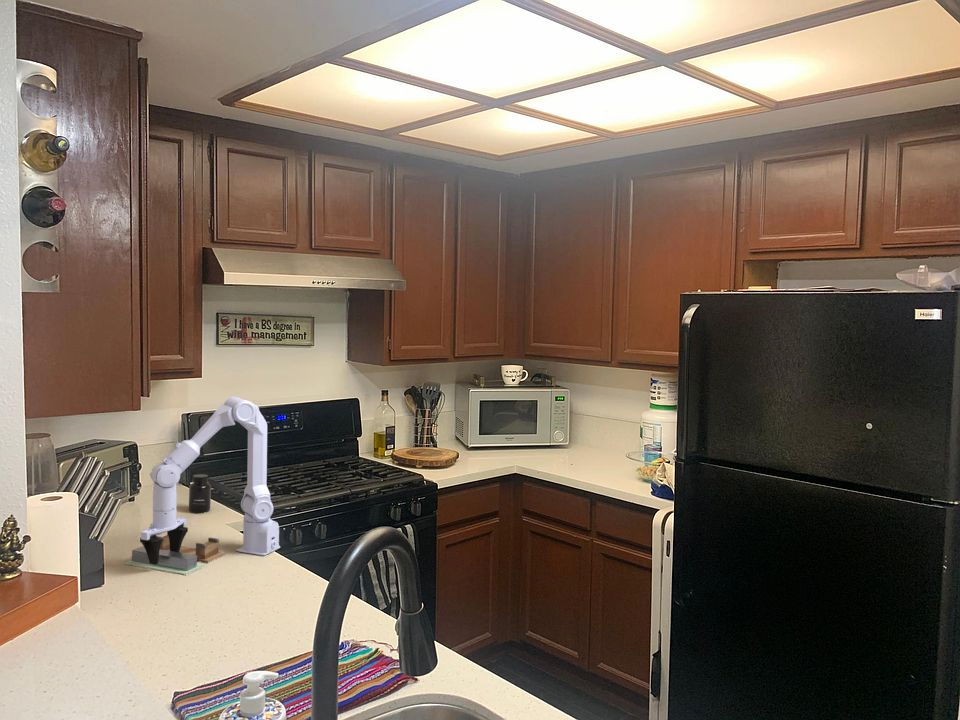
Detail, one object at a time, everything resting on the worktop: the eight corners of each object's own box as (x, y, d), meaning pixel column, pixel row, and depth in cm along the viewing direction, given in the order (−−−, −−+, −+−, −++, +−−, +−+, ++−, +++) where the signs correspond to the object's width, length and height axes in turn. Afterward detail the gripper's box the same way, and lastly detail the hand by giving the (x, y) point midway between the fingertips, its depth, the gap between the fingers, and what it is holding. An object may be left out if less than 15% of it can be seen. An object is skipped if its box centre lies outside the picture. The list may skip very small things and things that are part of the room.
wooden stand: (224, 555, 202) (224, 538, 202) (207, 563, 196) (207, 546, 196) (166, 545, 209) (166, 529, 208) (147, 552, 202) (147, 536, 202)
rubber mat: (204, 566, 193) (204, 565, 193) (186, 575, 187) (186, 573, 186) (143, 556, 199) (143, 554, 199) (123, 564, 193) (124, 562, 193)
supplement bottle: (196, 515, 239) (196, 479, 239) (184, 511, 244) (184, 475, 243) (214, 510, 245) (215, 475, 244) (203, 507, 249) (203, 472, 248)
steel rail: (196, 566, 192) (196, 555, 192) (187, 570, 189) (187, 559, 188) (141, 557, 197) (141, 546, 197) (132, 561, 194) (132, 550, 194)
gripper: (172, 500, 200) (171, 548, 201) (131, 513, 186) (131, 565, 187) (193, 503, 198) (192, 552, 199) (153, 517, 184) (153, 569, 185)
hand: (164, 559), depth 193 cm, fingers open, 7 cm apart
